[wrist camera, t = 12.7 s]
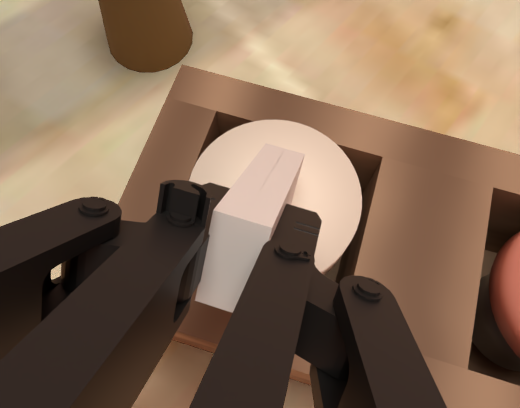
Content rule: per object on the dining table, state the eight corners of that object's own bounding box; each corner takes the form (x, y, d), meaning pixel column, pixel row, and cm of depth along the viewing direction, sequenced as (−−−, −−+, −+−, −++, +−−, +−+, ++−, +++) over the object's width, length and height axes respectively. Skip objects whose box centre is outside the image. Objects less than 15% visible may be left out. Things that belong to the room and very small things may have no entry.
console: (126, 324, 26) (75, 297, 19) (199, 143, 31) (182, 64, 23) (603, 482, 24) (763, 524, 16) (612, 261, 28) (741, 214, 21)
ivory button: (185, 287, 24) (159, 250, 18) (228, 171, 27) (220, 101, 20) (315, 329, 24) (338, 305, 17) (348, 205, 26) (378, 144, 20)
